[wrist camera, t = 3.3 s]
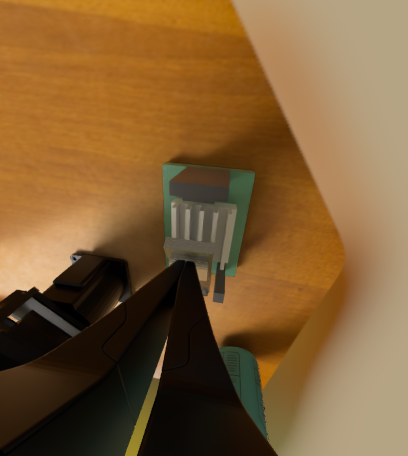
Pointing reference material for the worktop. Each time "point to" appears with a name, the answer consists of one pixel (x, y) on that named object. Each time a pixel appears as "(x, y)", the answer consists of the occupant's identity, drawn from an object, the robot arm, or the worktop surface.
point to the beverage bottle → (246, 382)
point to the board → (208, 212)
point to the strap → (192, 257)
